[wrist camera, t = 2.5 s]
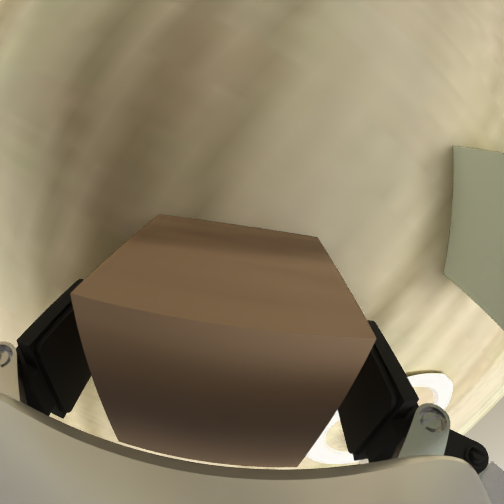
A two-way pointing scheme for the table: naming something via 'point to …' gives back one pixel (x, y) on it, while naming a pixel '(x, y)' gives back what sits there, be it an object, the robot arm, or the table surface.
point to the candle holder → (320, 449)
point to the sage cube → (478, 229)
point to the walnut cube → (221, 341)
